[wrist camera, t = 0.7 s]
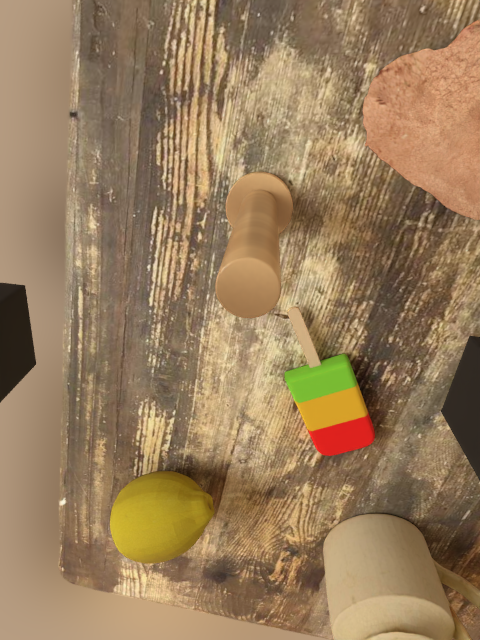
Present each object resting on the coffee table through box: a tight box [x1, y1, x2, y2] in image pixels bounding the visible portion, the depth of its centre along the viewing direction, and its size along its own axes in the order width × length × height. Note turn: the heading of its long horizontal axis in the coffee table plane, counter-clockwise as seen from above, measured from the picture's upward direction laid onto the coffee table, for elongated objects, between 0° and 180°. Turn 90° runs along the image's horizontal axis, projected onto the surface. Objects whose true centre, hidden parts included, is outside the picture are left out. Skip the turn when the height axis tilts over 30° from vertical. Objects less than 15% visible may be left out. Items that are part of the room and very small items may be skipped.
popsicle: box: [285, 307, 375, 456], centre depth 36 cm, size 6×15×2 cm, turn 23°
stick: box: [215, 172, 293, 318], centre depth 24 cm, size 5×5×16 cm
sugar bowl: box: [323, 514, 480, 640], centre depth 39 cm, size 15×11×15 cm
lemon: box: [110, 471, 215, 563], centre depth 41 cm, size 11×8×8 cm
